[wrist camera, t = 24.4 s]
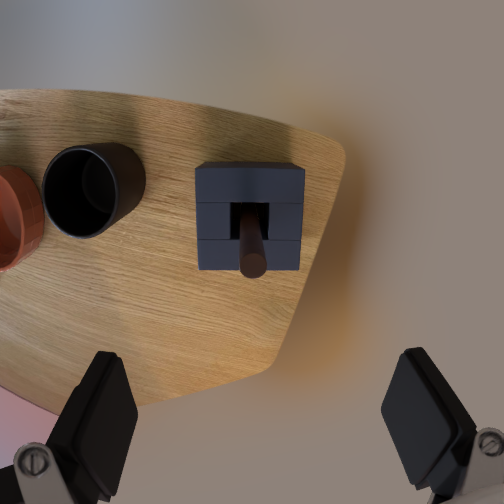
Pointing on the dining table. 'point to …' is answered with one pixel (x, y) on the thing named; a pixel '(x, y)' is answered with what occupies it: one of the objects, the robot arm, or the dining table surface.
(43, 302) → the dining table surface
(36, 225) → the bowl
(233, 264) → the holder
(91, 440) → the robot arm
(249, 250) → the stick
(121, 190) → the mug
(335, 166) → the dining table surface
